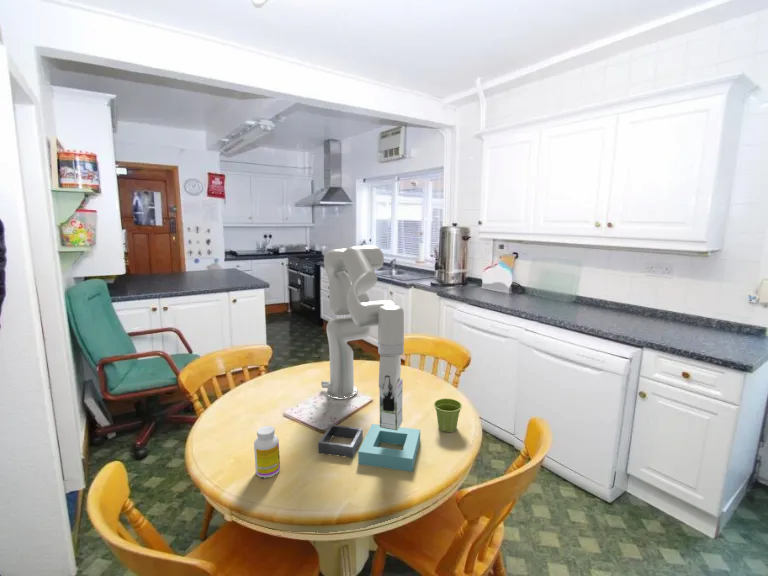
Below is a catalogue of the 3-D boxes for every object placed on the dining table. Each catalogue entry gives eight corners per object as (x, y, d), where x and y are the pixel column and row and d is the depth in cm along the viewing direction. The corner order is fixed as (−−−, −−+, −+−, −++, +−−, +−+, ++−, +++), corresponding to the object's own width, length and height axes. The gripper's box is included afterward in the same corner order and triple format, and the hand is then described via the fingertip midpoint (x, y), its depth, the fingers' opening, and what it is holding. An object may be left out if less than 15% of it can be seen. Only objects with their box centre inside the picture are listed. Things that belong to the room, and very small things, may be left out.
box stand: (318, 453, 120) (318, 442, 120) (331, 434, 131) (330, 424, 130) (352, 457, 118) (352, 447, 117) (362, 438, 128) (362, 428, 128)
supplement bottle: (283, 473, 111) (281, 431, 108) (259, 482, 107) (256, 439, 105) (276, 461, 116) (273, 421, 114) (253, 469, 113) (250, 428, 110)
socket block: (358, 464, 115) (358, 451, 114) (372, 435, 130) (372, 423, 130) (412, 471, 111) (412, 458, 111) (420, 441, 127) (420, 429, 126)
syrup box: (403, 421, 121) (403, 377, 118) (397, 431, 115) (397, 384, 113) (385, 418, 123) (385, 374, 120) (379, 428, 117) (378, 382, 115)
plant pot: (444, 438, 128) (444, 413, 127) (428, 425, 137) (428, 401, 135) (466, 431, 133) (467, 407, 131) (449, 418, 141) (450, 396, 139)
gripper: (384, 338, 124) (385, 392, 127) (371, 356, 107) (371, 417, 110) (408, 339, 122) (408, 394, 125) (397, 358, 106) (397, 420, 109)
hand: (391, 404), depth 118 cm, fingers closed on syrup box, 6 cm apart
